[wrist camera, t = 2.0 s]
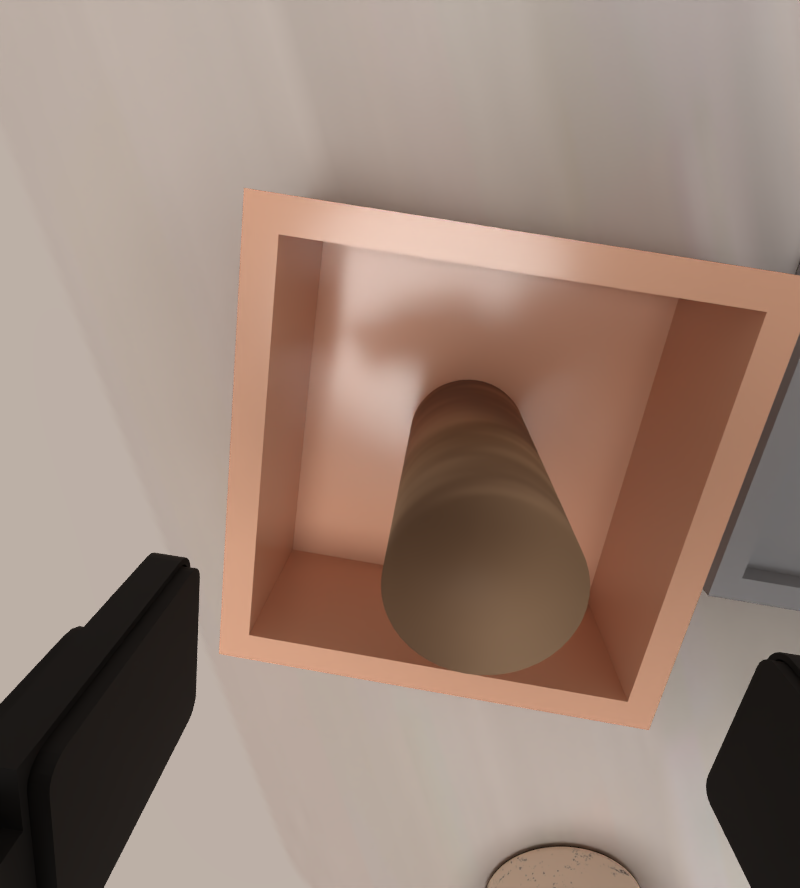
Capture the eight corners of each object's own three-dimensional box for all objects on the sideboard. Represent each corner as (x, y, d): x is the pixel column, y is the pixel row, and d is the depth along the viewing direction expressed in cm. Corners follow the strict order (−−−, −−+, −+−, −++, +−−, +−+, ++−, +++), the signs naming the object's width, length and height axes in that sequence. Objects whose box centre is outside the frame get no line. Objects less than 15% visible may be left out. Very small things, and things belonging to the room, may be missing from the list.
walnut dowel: (535, 389, 22) (614, 515, 12) (510, 495, 23) (561, 690, 13) (420, 370, 22) (397, 478, 12) (402, 476, 24) (368, 656, 13)
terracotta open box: (709, 269, 21) (819, 278, 15) (600, 615, 26) (648, 729, 20) (302, 206, 21) (243, 187, 15) (272, 558, 26) (219, 653, 20)
